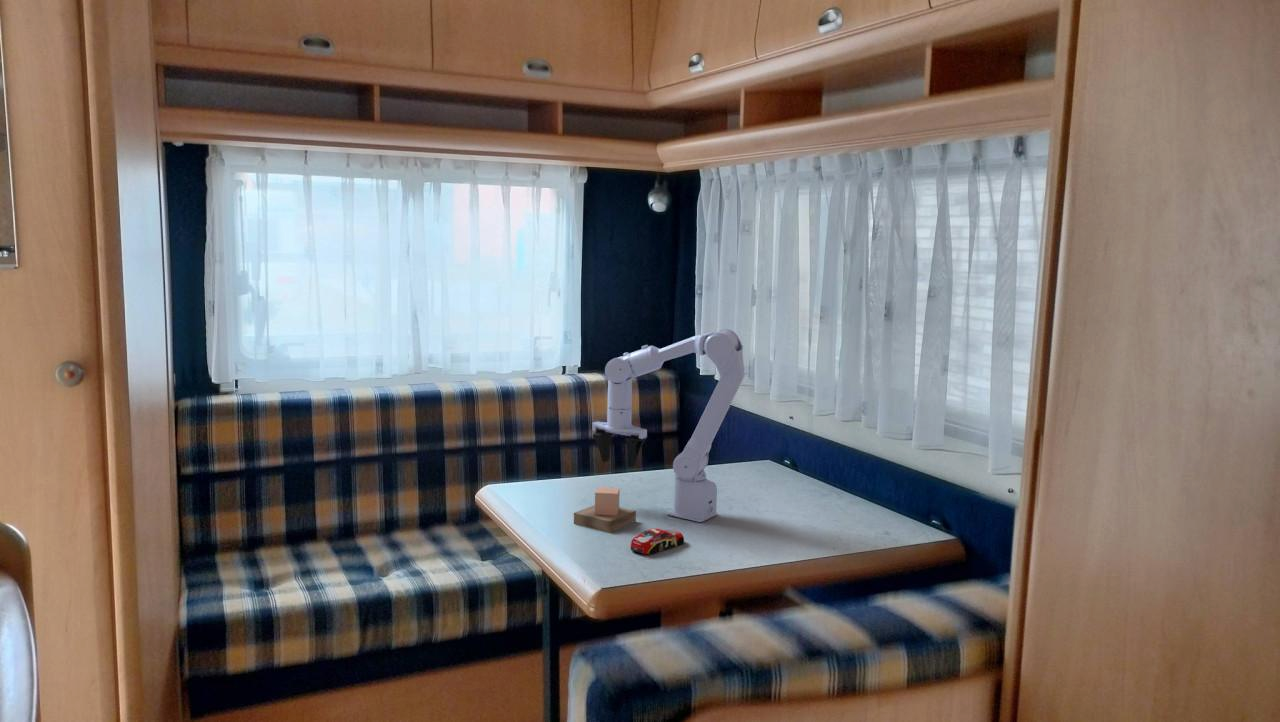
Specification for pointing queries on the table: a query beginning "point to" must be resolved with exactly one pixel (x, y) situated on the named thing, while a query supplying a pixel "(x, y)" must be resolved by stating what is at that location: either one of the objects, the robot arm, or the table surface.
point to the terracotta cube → (607, 501)
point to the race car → (656, 541)
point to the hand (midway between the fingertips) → (618, 463)
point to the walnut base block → (604, 519)
